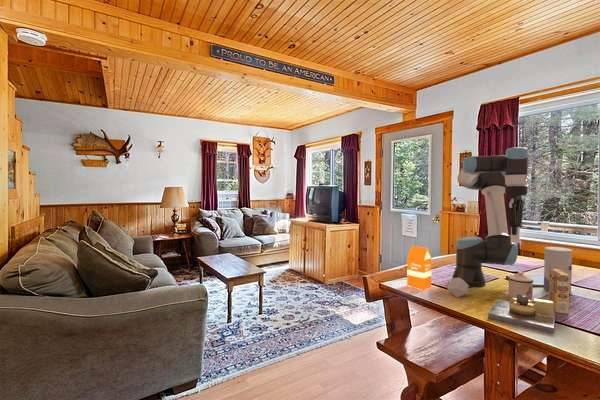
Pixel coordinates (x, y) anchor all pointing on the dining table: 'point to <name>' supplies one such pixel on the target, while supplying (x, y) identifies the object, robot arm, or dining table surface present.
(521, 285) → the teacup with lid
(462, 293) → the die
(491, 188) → the robot arm
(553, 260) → the container
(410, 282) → the orange juice
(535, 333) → the dining table surface
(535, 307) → the beige lumpy block
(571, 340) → the dining table surface
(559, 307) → the candy box
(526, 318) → the flange plate
